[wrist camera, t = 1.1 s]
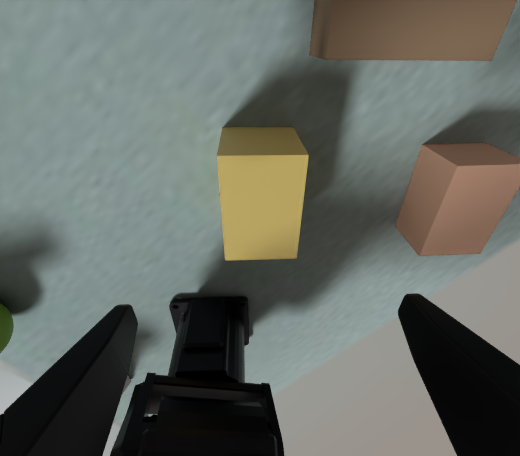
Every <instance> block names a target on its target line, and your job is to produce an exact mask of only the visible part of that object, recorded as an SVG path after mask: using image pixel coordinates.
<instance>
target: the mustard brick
mask: <svg viewBox="0 0 520 456" xmlns="http://www.w3.org/2000/svg"><path fill="white" fill-rule="evenodd" d="M308 158H309V154H308V153H307V151H306V149H305V147H304V145H303V144H302V142H301V140H300V138H299V136H298V135H297V133H296V131H295V129H294V127H222V132H221V137H220V142H219V147H218V152H217V164H218V177H219V189H220V202H221V215H222V227H223V240H224V252H225V260H262V259H297V251H298V243H299V234H300V226H301V217H302V209H303V200H304V192H305V183H306V175H307V166H308Z"/></svg>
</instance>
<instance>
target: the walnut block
mask: <svg viewBox="0 0 520 456" xmlns="http://www.w3.org/2000/svg"><path fill="white" fill-rule="evenodd" d="M516 2H517V0H315V2H314V12H313V23H312V33H311V44H310V54H309V55H312V56H315V57H318V58H322V59H325V60H453V61H492V59H493V56H494V54H495V52H496V49H497V47H498V45H499V42H500V40H501V37H502V35H503V33H504V30H505V28H506V25H507V23H508V21H509V18H510V16H511V14H512V11H513V9H514V6H515V4H516Z"/></svg>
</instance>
